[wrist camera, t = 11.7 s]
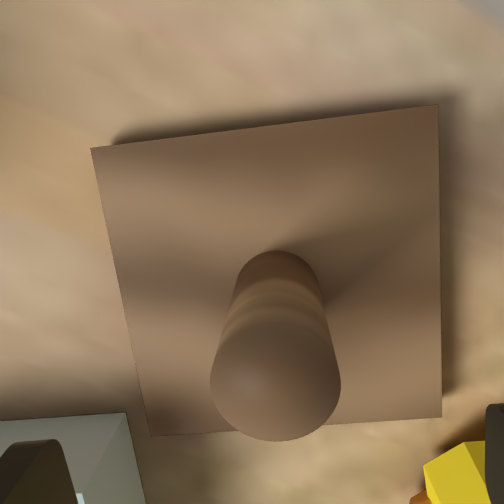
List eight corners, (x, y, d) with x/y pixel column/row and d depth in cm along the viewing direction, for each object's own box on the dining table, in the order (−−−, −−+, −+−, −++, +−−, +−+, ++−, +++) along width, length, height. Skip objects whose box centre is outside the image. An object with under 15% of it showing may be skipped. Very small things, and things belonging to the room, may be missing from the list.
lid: (98, 146, 18) (-31, 162, 11) (431, 105, 17) (551, 88, 9) (155, 425, 21) (88, 585, 14) (435, 406, 20) (527, 570, 13)
